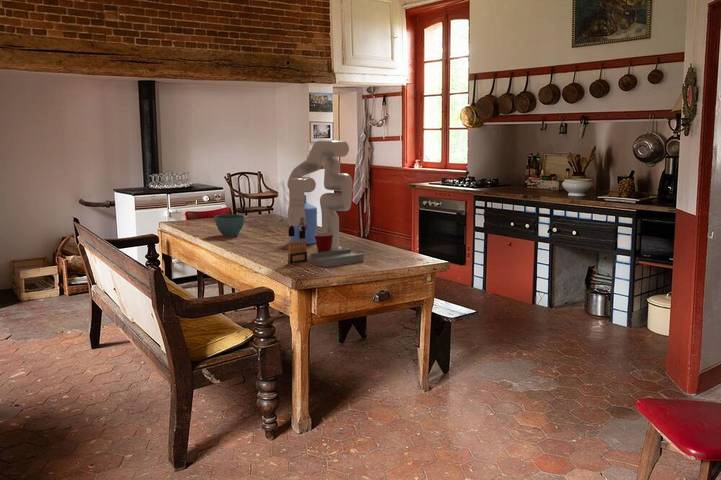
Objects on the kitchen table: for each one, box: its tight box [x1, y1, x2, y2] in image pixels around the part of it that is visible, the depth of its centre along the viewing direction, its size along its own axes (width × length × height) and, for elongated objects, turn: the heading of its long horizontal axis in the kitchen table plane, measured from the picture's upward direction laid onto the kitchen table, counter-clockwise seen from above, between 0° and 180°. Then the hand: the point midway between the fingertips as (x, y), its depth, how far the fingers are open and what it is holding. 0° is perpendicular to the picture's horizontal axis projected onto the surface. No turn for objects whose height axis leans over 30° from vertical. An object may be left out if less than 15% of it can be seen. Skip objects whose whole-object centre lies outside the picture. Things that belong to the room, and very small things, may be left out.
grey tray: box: [310, 247, 365, 268], centre depth 331 cm, size 12×24×5 cm, turn 128°
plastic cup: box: [314, 232, 334, 253], centre depth 348 cm, size 11×11×12 cm
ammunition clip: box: [287, 239, 308, 265], centre depth 330 cm, size 11×2×12 cm, turn 130°
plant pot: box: [214, 214, 245, 238], centre depth 411 cm, size 18×18×12 cm
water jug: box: [290, 194, 318, 246], centre depth 386 cm, size 16×16×28 cm
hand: (296, 237), depth 328 cm, fingers open, 9 cm apart
